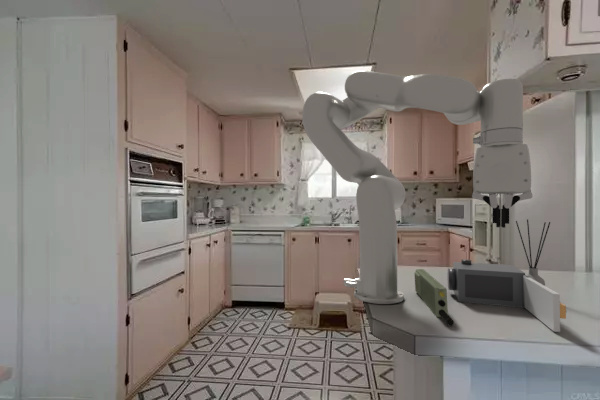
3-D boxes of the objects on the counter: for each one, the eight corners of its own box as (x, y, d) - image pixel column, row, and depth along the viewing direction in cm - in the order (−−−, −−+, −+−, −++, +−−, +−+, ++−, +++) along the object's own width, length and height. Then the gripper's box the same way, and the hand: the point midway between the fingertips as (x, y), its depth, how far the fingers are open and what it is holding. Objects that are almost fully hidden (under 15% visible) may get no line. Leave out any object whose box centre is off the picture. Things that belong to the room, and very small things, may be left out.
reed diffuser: (509, 293, 83) (508, 219, 84) (526, 290, 86) (525, 218, 86) (552, 304, 74) (551, 220, 74) (569, 301, 76) (568, 220, 77)
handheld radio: (427, 293, 85) (460, 329, 60) (414, 293, 85) (442, 329, 61) (426, 268, 85) (458, 294, 60) (413, 268, 85) (440, 294, 61)
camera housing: (451, 300, 77) (450, 264, 77) (447, 290, 86) (446, 257, 87) (525, 307, 72) (525, 268, 72) (512, 295, 81) (512, 261, 81)
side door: (522, 306, 72) (522, 275, 72) (533, 307, 71) (532, 275, 71) (553, 331, 58) (552, 292, 58) (566, 332, 57) (566, 293, 57)
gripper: (459, 141, 67) (459, 226, 67) (548, 133, 58) (547, 230, 58) (463, 146, 73) (463, 224, 73) (543, 140, 65) (543, 227, 64)
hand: (500, 226), depth 66 cm, fingers closed
